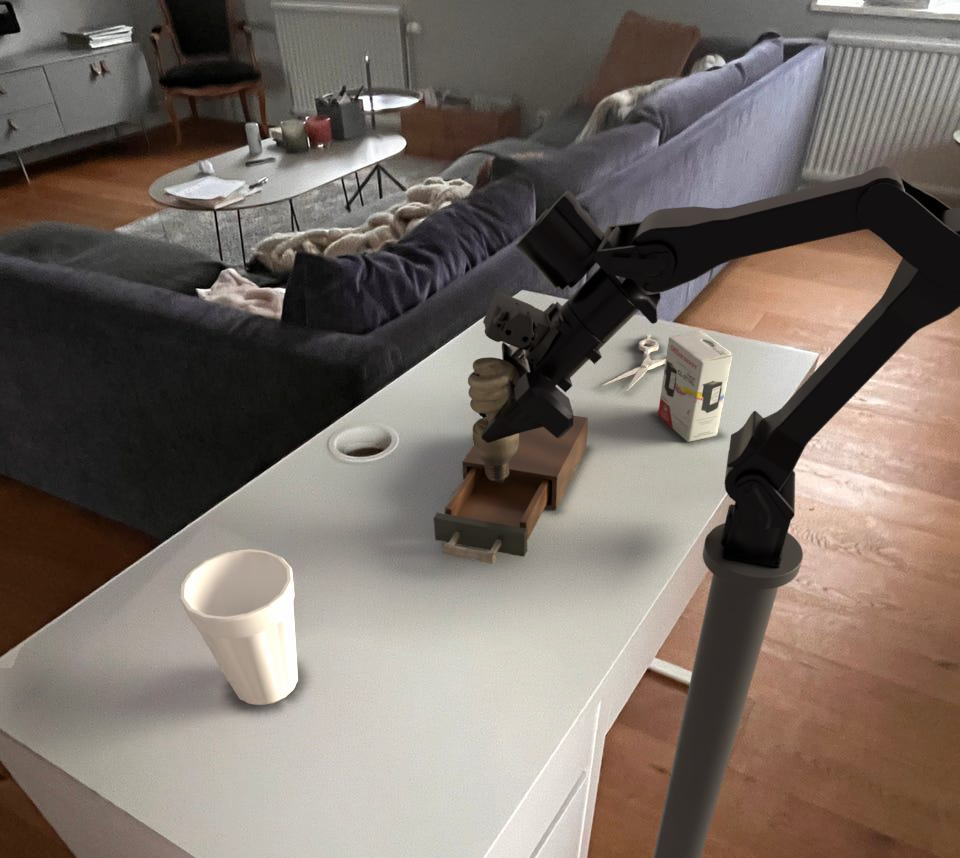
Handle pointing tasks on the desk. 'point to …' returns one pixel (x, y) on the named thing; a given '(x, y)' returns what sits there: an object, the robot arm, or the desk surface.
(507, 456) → the light bulb
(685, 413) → the ink box
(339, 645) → the desk surface
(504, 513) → the drawer
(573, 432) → the cabinet
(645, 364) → the scissors
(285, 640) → the cup
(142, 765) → the desk surface
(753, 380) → the desk surface
